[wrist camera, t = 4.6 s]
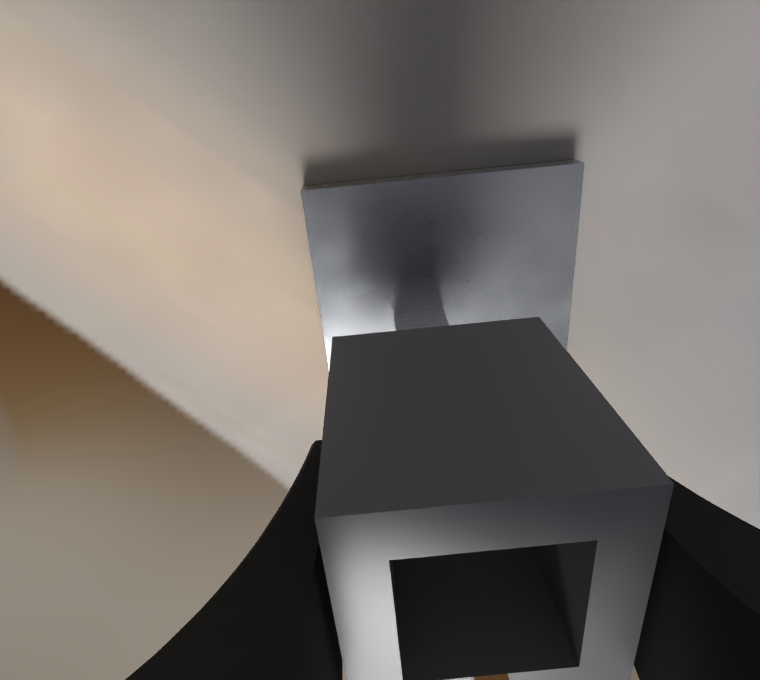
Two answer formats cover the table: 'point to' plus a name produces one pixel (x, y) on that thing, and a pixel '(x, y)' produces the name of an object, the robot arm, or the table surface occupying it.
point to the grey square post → (420, 320)
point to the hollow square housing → (482, 509)
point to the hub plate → (446, 247)
